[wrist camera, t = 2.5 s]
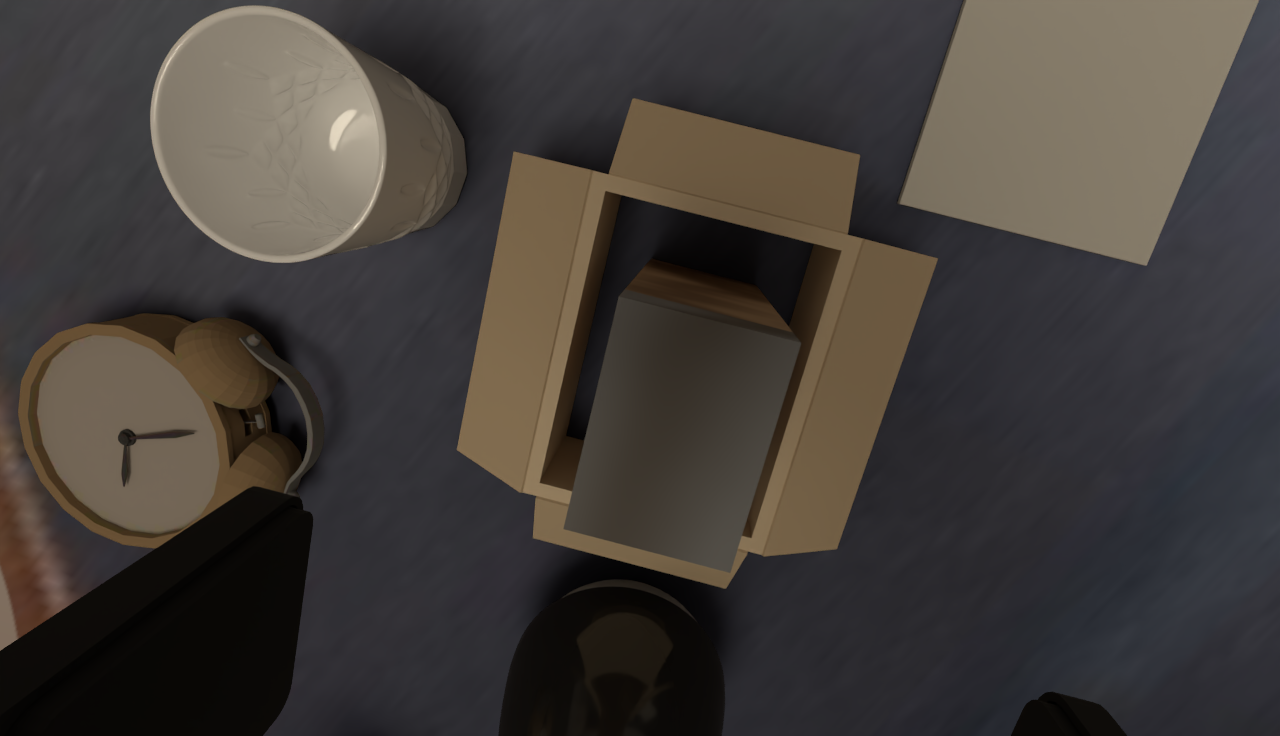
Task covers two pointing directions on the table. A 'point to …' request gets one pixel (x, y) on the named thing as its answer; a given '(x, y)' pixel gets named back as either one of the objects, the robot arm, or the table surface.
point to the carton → (822, 320)
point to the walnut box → (682, 415)
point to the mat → (1073, 116)
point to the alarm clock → (159, 422)
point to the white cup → (298, 139)
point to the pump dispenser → (614, 668)
